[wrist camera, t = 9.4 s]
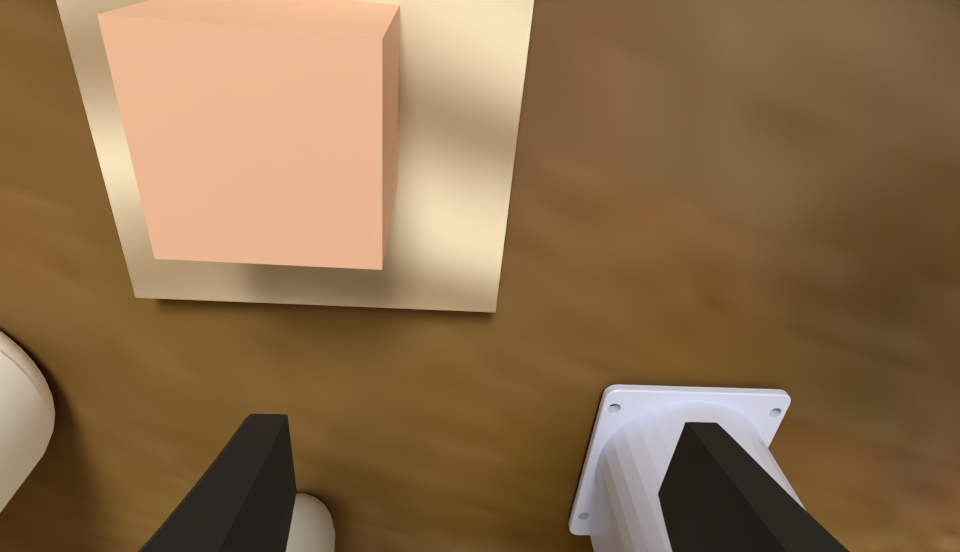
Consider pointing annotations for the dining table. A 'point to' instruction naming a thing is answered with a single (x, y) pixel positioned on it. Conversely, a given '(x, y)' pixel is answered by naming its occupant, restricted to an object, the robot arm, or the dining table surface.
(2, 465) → the wine bottle
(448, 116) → the birch board
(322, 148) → the peach cube
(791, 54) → the dining table surface
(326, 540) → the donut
